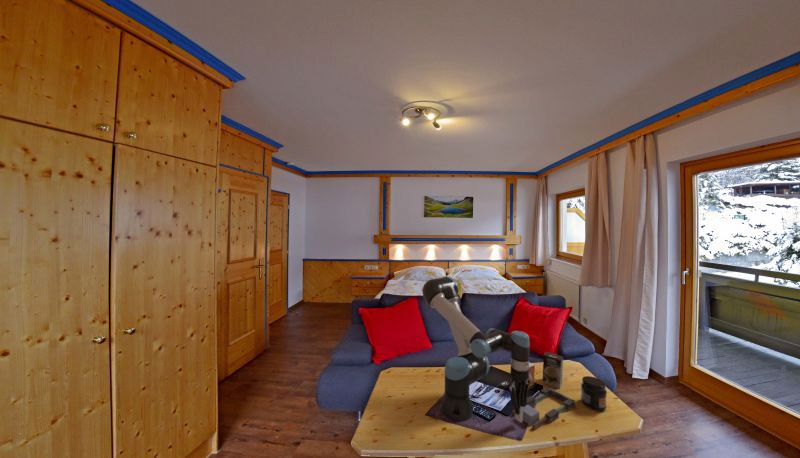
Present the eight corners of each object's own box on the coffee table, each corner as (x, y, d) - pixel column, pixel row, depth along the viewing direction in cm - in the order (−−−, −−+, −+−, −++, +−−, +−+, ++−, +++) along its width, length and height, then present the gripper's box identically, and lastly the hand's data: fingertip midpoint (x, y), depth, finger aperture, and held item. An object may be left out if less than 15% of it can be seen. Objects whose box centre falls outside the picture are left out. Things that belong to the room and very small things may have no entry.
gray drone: (509, 413, 131) (509, 407, 131) (547, 392, 149) (547, 386, 148) (537, 432, 120) (537, 425, 119) (574, 406, 137) (574, 400, 137)
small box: (525, 392, 148) (526, 368, 148) (515, 386, 153) (515, 363, 153) (534, 387, 152) (535, 364, 152) (523, 382, 158) (524, 359, 158)
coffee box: (542, 382, 158) (542, 354, 157) (545, 378, 162) (545, 351, 162) (560, 389, 152) (561, 360, 151) (562, 384, 156) (563, 356, 156)
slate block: (519, 418, 128) (519, 408, 128) (527, 413, 131) (527, 404, 131) (531, 426, 123) (531, 416, 123) (539, 421, 126) (539, 412, 126)
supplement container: (611, 409, 135) (612, 385, 135) (595, 413, 132) (596, 388, 132) (590, 396, 145) (591, 374, 145) (575, 400, 142) (576, 377, 142)
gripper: (518, 375, 116) (517, 431, 117) (536, 367, 123) (535, 419, 123) (503, 367, 123) (502, 420, 123) (521, 360, 130) (520, 410, 130)
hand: (518, 420), depth 123 cm, fingers closed
